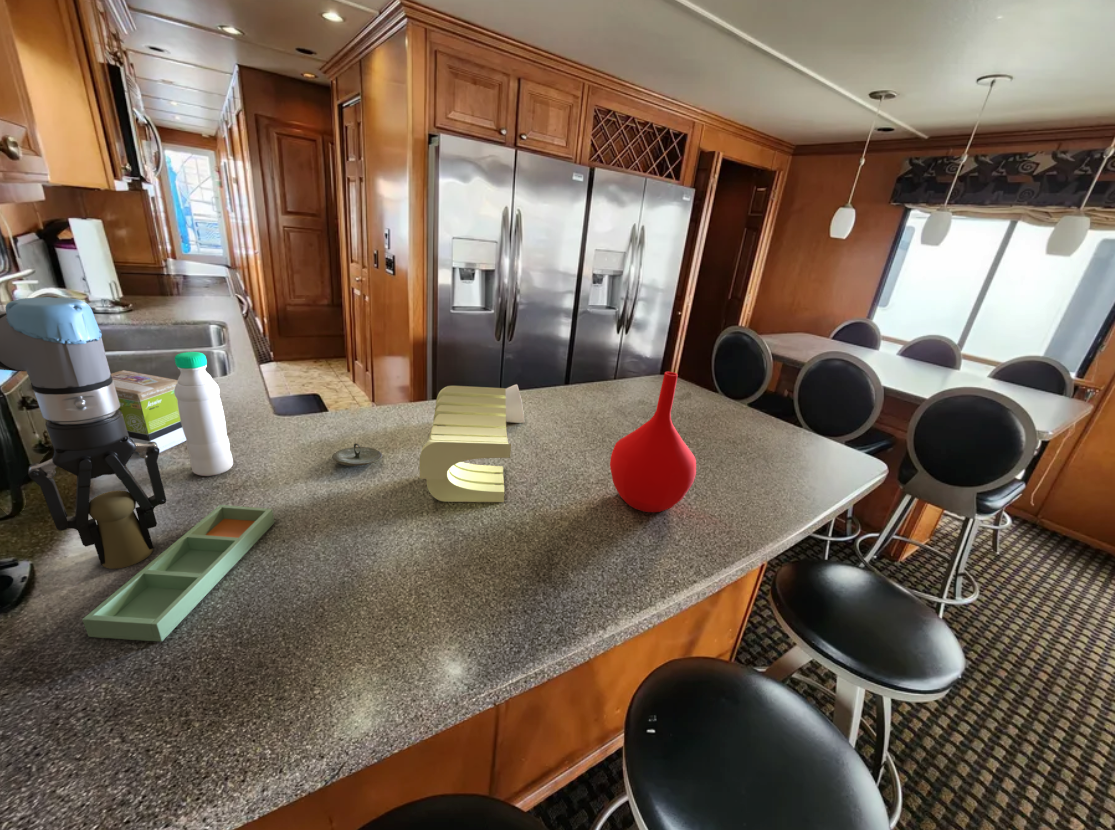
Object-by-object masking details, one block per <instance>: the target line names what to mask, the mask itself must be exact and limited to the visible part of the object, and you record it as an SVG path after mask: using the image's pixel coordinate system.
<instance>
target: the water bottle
mask: <svg viewBox="0 0 1115 830" xmlns="http://www.w3.org/2000/svg"><path fill="white" fill-rule="evenodd" d="M174 362H175V363H174V364H175V366H176V367H177V369H178V370H179V371H180V373H179V376H178V377H177V380H178V382H177V384H176V386H175V389H174V394H175V397H176V398H177V402H178V410H179V415H180V420H181V424H182V428H183V431H184V435H185V437H186V450H187V453H188V455H189V462H190V467H191V471H192V473H193V474H195V475H198V476H202V477H209V476H216V475H221V474H224V473H225V472H228V471H229V470H230V469H232V467H233V465H234V460H233V459H234V458H233V455H232V451H231V445H230V439H229V437H228V435H227V424H226V417H225V412H224V407H223V402H222V399H221V397H220V387H219V385H218V383H217V382H216V381H215V380H214V379H213V377H212V376H211V374H209V373H208V372H207V370H206V368H207V367H208V366H207V364H208V361H207V356H206V355H205V354H204V353H202V352H199V351H185V352H180V353H178V354H176V355H175V356H174Z"/></svg>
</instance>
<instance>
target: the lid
mask: <svg viewBox="0 0 1115 830" xmlns="http://www.w3.org/2000/svg"><path fill="white" fill-rule="evenodd" d="M382 458H383V453H382V452H381V451H380V450H378V449H376V448H373V447H369V446H368V447H367V446H360V444H358V443H354V444H353V447H347V448H343V449H340V450H338V451H335V452H334V453H333V454H332V455H331V459H332V461H334V462H335V463H337V464H339V465H344V466H351V467H352V466H365V465H369V464H370V465H371V464H373V463H376V462H378V461H380V460H381V459H382Z"/></svg>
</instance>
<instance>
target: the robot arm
mask: <svg viewBox="0 0 1115 830" xmlns="http://www.w3.org/2000/svg"><path fill="white" fill-rule="evenodd" d="M4 309H5V310H0V371H10V372H11V371H14V372H26V373H27V376H28V378H29V380H30V385H31V388H32V390H33V393H34V396H35V399H36V401H37V404H38V408H39V410H40V414H41V416H42V418H43V419H45V420H47V421H46V422H45V427H46V431H47V433H48V436H49V440H50V441H51V445H52V447H53V453H52V455H51V458H50V459H48V460H45V461H44V462H41V463H37V462H36V463H35V462H34V463H31V464H30V465H29V466H28V477H29V478H30V480H32V481H33V482H34V483H35V484H37V485H38V486H39V487H40V490H41V492H42V495H43V498H44V501H45V503H46V505H47V507H48V510H49V514H50V515H51V518H52V520H53V523H54V525H55V528H56V530H57V531H61V532H62V531H66V530H68V529H69V530H71V529H74V530H76V531H77V532H78V536H79V538H80V541H81V544H82V545H83V546H84V547H85V548H86V547H90V546H94V548H95V550H96V553H97V557H98V559H99V562H100V565H102V564H105V555H104V549H103V545H102V542H101V539H100V536H99V532H98V529H97V521H96V520H94V519H93V518H90V519H89V516H90V515H89V502H90V496H91V485H92V484H91V482H92V480H93V479H97V478H99V477H101V476H113V475H115V476H116V478H118V480H120V482H121V483H122V484H123V486H124V487H125V488H126V491H127V492H129V493H130V494H131V495H132V497H133V498H134V499H135V501H136V505H138V506H136V507H135V509H134V510H135V513H136V516H137V518H138V520H139V523H140V526H141V529H142V533H143V536H144V540H145V542H146V544H147V546H148V548H149V550H150V549H153V550H154V548H155V547H154V544H153V540H152V537H151V534H150V531H149V529H153V528H156V527H157V525H158V522H157V518H156V515H155V511H154V510H155V508H156V507H158V506H161V505H165V504H166V503H167V497H166V496H167V495H166V493H165V488H164V484H163V480H162V476H161V472H160V468H159V463H158V459H159V455H160V453H161V452H160V450H159V448H158V445H157V443H156V442H149V443H148V444H142V443H135V442H134V441H133V440H132V439H131V438H130V437H129V436H128V432H127V428H126V425H125V421H124V418H123V414H122V412H121V411H119V410H118V408H119V407H120V403H119V400H118V396H117V393H116V389H115V385H114V382H113V380H112V376H111V371H110V367H109V362H108V359H107V354H106V350H105V346H104V342H103V337H102V336H103V335H102V330H101V329H100V327H99V325H98V322H97V320H96V317H95V314H94V311H93V309H92V308H91V306H90V305H89V304H88V303H87V302H85V301H83V300H81V299H78V298H72V297H49V296H45V297H44V296H43V297H25V298H19V299H14V300H11V301H9V302H8V303H6V304H5V308H4ZM159 452H160V453H159ZM134 453H138V455H139V457H140V458H141V459H144V463H145V466H146V470H147V475H148V477H149V481H150V485H151V489H152V493H153V495H151V496H148V495H147V494H146V492H145V491H144V489H143V488H142V486H141V485H140V484H139V482H138V481H137V479H136V478H135V476H134V475H133V473H132V472H131V471H130V469H129V468H128V466H127V465H128V462H129V461H130V460H131V458H132V457H133V455H134ZM56 468H60V469H62V470H64V471H66V472H68V473H69V474H72V475H74V476H76V488H75V489H76V490H75V491H76V493H75V496H76V497H75V515H73V516H72V515H71V516H70V515H69V516H68V513H67V510H66V508H65V505H64V502H63V499H62V497H61V494H60V491H59V489H58V487H57V484H56V483H57V482H56V481H55V478H54V477H55V476H56V473H57V472H56ZM102 566H103V565H102Z"/></svg>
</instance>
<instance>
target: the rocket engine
mask: <svg viewBox="0 0 1115 830" xmlns="http://www.w3.org/2000/svg"><path fill="white" fill-rule="evenodd" d="M505 398H506V407H505V408H506V423H516V424H525V414H524V413H525V412H524V406H523V401H522V396H521V392H520V389H519V385H518V384H517V383H516V384H513V385H511V386H508V387H506V396H505Z"/></svg>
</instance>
